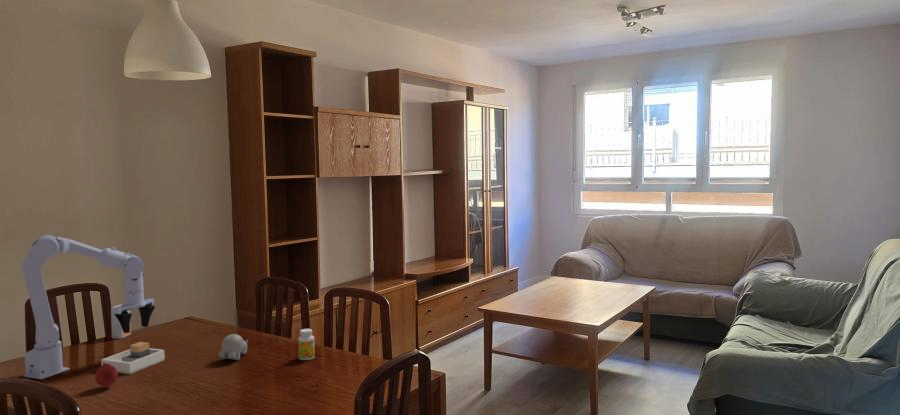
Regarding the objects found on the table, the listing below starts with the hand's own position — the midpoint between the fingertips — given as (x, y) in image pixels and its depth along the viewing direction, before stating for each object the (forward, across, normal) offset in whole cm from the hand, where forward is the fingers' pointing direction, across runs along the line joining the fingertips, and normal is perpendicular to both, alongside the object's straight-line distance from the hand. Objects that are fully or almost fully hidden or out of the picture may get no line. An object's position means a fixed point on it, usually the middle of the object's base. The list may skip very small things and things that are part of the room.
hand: (135, 329), depth 200 cm
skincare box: (+10, +18, +27) cm, 34 cm away
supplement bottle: (+10, +19, -56) cm, 60 cm away
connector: (+9, -4, -6) cm, 12 cm away
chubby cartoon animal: (+10, +11, -33) cm, 36 cm away
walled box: (+10, -6, -5) cm, 13 cm away
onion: (+10, -24, -15) cm, 30 cm away
